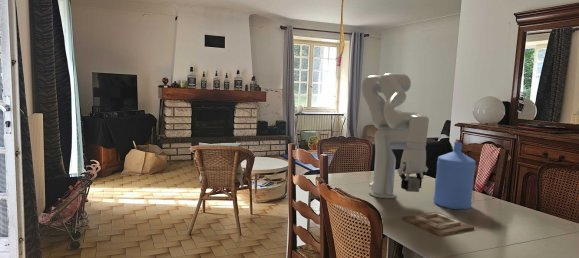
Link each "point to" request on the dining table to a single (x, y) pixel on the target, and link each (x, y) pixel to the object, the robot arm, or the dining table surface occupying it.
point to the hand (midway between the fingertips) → (410, 187)
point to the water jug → (454, 179)
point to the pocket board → (438, 223)
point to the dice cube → (413, 184)
